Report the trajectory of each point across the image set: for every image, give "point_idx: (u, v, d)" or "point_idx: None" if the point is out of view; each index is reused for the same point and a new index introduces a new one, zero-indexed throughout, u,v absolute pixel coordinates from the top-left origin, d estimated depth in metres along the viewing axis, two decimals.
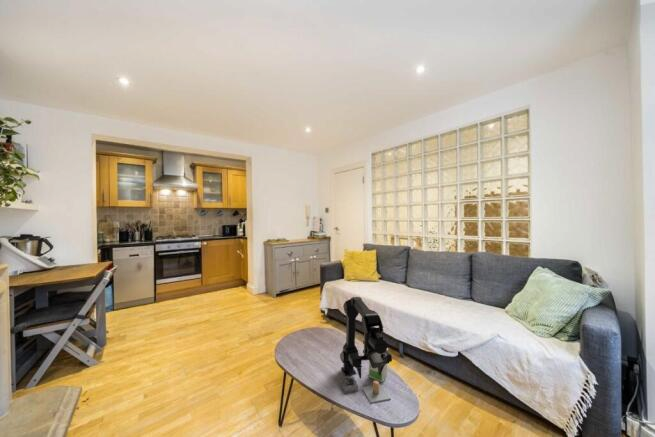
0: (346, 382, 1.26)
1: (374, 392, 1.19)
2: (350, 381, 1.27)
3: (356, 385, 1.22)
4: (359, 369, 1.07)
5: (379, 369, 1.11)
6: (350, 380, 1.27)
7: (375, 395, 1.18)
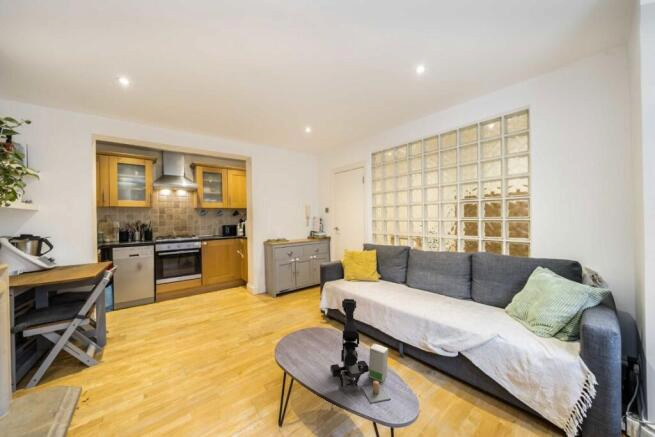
0: (346, 382, 1.26)
1: (374, 392, 1.19)
2: (350, 381, 1.27)
3: (356, 385, 1.22)
4: (341, 378, 1.22)
5: (356, 379, 1.25)
6: (350, 380, 1.27)
7: (375, 395, 1.18)
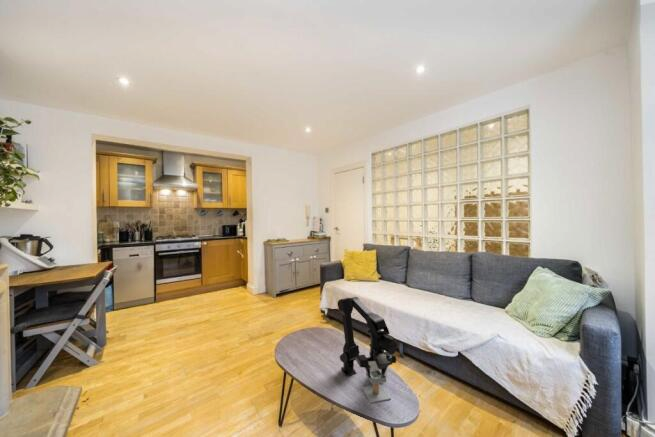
0: (372, 373, 1.22)
1: (374, 392, 1.19)
2: (376, 372, 1.22)
3: (384, 376, 1.18)
4: (368, 369, 1.17)
5: (383, 370, 1.21)
6: (376, 371, 1.22)
7: (375, 395, 1.18)
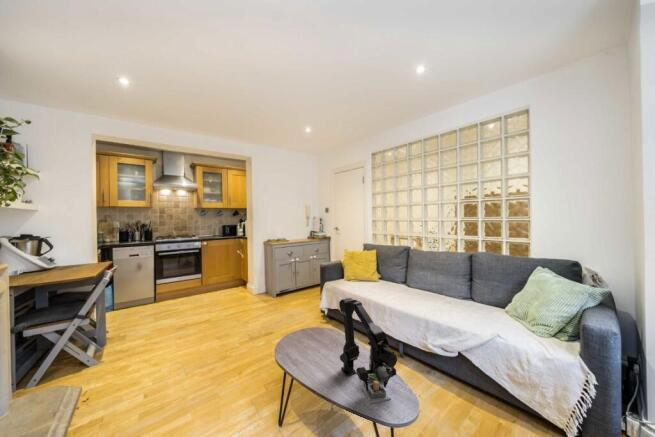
0: (372, 387, 1.22)
1: None
2: None
3: (383, 391, 1.18)
4: (366, 382, 1.17)
5: (384, 382, 1.21)
6: None
7: None
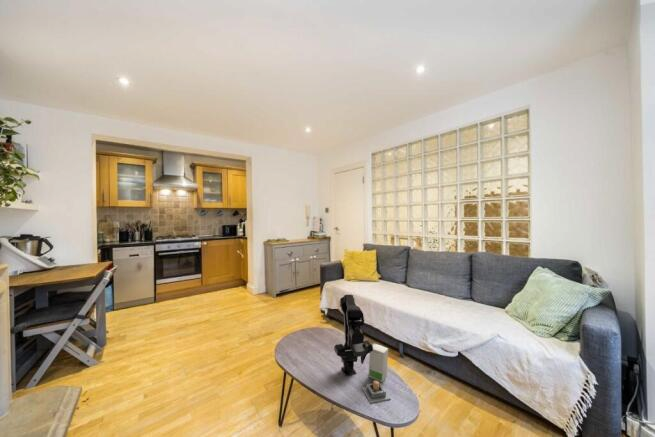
0: (372, 387, 1.22)
1: None
2: None
3: (383, 391, 1.18)
4: (343, 358, 1.20)
5: (361, 358, 1.24)
6: None
7: None
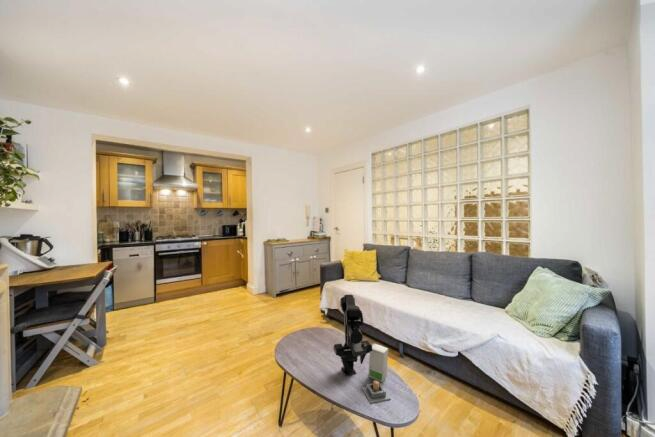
0: (372, 387, 1.22)
1: None
2: None
3: (383, 391, 1.18)
4: (342, 358, 1.20)
5: (361, 358, 1.24)
6: None
7: None
